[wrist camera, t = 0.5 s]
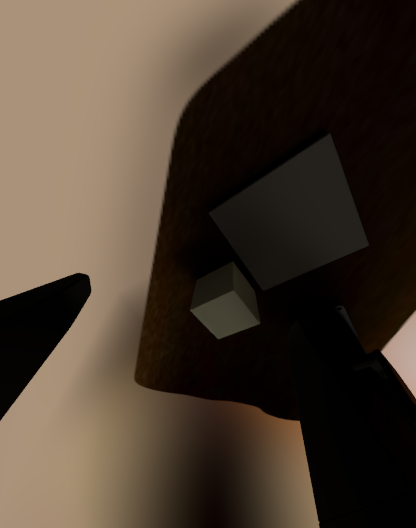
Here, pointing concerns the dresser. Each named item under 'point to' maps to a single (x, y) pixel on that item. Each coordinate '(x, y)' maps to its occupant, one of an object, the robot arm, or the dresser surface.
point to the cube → (225, 301)
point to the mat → (293, 217)
